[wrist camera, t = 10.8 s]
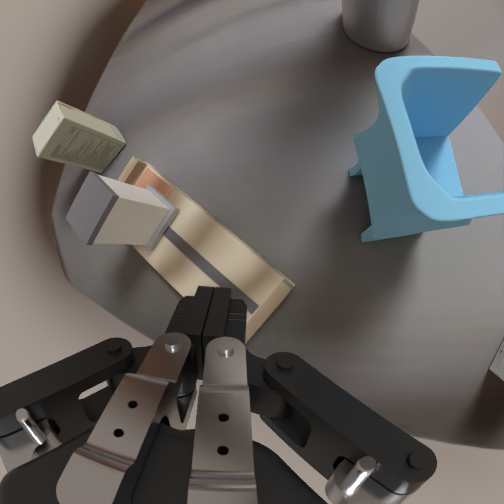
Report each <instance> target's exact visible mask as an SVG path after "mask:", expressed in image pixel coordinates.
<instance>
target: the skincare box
mask: <svg viewBox="0 0 504 504" xmlns="http://www.w3.org/2000/svg"><path fill="white" fill-rule="evenodd" d="M32 138H33V143H34V147H35V150H36V154H37V157H40V158H44V159H49V160H53V161H57V162H61V163H64V164H68V165H72V166H76V167H80V168H84V169H88V170H91V171H95V172H99V173H102V172H103V170H104V169H105V168H106V167H107V166H108V165H109V163H110V162H111V161H112V160H113V159H114V157H115V156H116V155H117V154H118V153H119V152H120V150H121V149H122V148H123V147H124V146H125V144H126V142H125V140H124V138H123V136H122V135H121V133H120V132H119V130H118V129H117V127H115V126H113V125H111V124H109V123H107V122H105V121H103V120H100V119H98V118H96V117H94V116H92V115H89V114H87V113H85V112H83V111H80V110H78V109H76V108H74V107H71V106H69V105H67V104H64V103H62V102H60V101H56V103H55V104H54V106H53V107H52V108H51V109H50V111H49V112H48V114H47V115H46V117H45V118H44V120H43V121H42V123H41V124H40V126H39V127H38V129H37V130H36V132H35V134H34V135H33V137H32Z"/></svg>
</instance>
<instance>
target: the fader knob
mask: <svg viewBox="0 0 504 504" xmlns="http://www.w3.org/2000/svg"><path fill="white" fill-rule="evenodd" d="M179 210H180V209H179V208H178V207H176V206H175V205H174V204H173V203H172V202H171V201H169V200H168V199H167V198H166V197H165V196H164V195H163V194H161V193H160V192H159V191H158V190H157V189H156V188H154V187H153V186H152V185H149V184H148V185H147V186H146V188H145V189H143V188H140V187H137V186H134V185H130V184H127V183H124V182H120V181H117V180H114V179H110V178H107V177H104V176H100V175H98V174H97V173H95V172H92V171H90V172H89V174H88V176H87V177H86V179H85V181H84V183H83V185H82V186H81V188H80V190H79V192H78V194H77V196H76V198H75V200H74V202H73V204H72V206H71V208H70V210H69V212H68V214H67V216H66V219H67V221H68V222H69V223H70V225H71V226H72V227H73V229H74V230H75V231H76V233H77V234H78V235H79V236H80V238H81V239H82V240H83V242H84V243H85V244H86V245H92V244H93V243H95V244H130V245H142V247H143V248H144V249H145V250H146V251H152V250H153V249H154V247H155V245H156V244H157V242H158V241H159V239H160V238H161V236H162V235H163V233H164V232H165V230H166V229H167V227H168V226H169V224H170V223H171V221H172V220H173V218H174V217H175V216H176V214H177V213H178V211H179Z"/></svg>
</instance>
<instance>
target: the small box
mask: <svg viewBox="0 0 504 504" xmlns="http://www.w3.org/2000/svg"><path fill="white" fill-rule="evenodd" d="M489 370H491V371H492V372H493V373H494V374H495V375H497V376H498V377H499V378H500V379H502V380H503V381H504V340H503V342H502V344H501V346H500V348H499V350H498V352H497V354H496V356H495V358H494V360H493V362H492V364H491V366H490V368H489Z"/></svg>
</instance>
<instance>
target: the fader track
mask: <svg viewBox="0 0 504 504" xmlns="http://www.w3.org/2000/svg"><path fill="white" fill-rule="evenodd" d="M117 181H120V182H124V183H127V184H130V185H134V186H137V187H140V188H143V189H145V188H146V186H147V185H148V184H149V185H152V186H153V187H154V188H156V189H157V190H158V191H159V192H160V193H161V194H163V195H164V196H165V197H166V198H167V199H168V200H169V201H171V202H172V203H173V204H174V205H175V206H176V207H178V208H179V209H180V210H179V211H178V213H177V214H176V216H175V217H174V218H173V220H172V221H171V223H170V224H169V226H168V227H167V229H166V230H165V232H164V233H163V235H162V236H161V238H160V239H159V241H158V242H157V244H156V245H155V247H154V249H153V250H152V251H146V250H145V249H144V248H143V247H142V245H132V246H133V247H134V248H135V249H136V250H137V251H138V252H139V253H140V254H141V255H142V256H143V257H144V258H145V259H146V260H147V261H148V262H149V264H150V265H151V266H152V267H153V268H154V269H155V270H156V271H157V272H158V273H159V274H160V275H161V276H162V277H163V278H164V279H166V280H167V281H168V282H169V283H170V284H171V285H172V286H173V287H174V288H175V289H176V290H177V291H178V292H179V293H180V294H181V295H182V296H183V297H185V296H195V293H196V290H197V288H198V286H211V287H227V288H232V299H243V300H244V302H245V304H246V305H247V321H246V340H245V344H246V343H247V342H248V341H249V339H250V338H251V337H252V336H253V335H254V334H255V333H256V331H257V330H258V329H259V328H260V327H261V326H262V325H263V323H264V322H265V321H266V320H267V319H268V318H269V316H270V315H271V314H272V313H273V312H274V310H275V309H276V308H277V307H278V306H279V305H280V303H281V302H282V301H283V300H284V299H285V297H286V296H287V295H288V294H289V293H290V291H291V290H292V289H293V288H294V287H295V284H294V283H293V282H292V281H291V280H289V279H288V278H287V277H286V276H285V275H283V274H282V273H281V272H280V271H278V270H277V269H276V268H275V267H274V266H272V265H271V264H270V263H269V262H268V261H266V260H265V259H264V258H263V257H262V256H260V255H259V254H258V253H257V252H255V251H254V250H253V249H252V248H251V247H249V246H248V245H247V244H246V243H245V242H243V241H242V240H241V239H240V238H239V237H237V236H236V235H235V234H234V233H232V232H231V231H230V230H229V229H228V228H226V227H225V226H224V225H223V224H222V223H220V222H219V221H218V220H217V219H216V218H214V217H213V216H212V215H211V214H209V213H208V212H207V211H206V210H205V209H203V208H202V207H201V206H200V205H199V204H197V203H196V202H195V201H194V200H192V199H191V198H190V197H189V196H188V195H186V194H185V193H184V192H183V191H182V190H180V189H179V188H178V187H177V186H175V185H174V184H173V183H172V182H171V181H169V180H168V179H167V178H166V177H165V176H163V175H162V174H161V173H160V172H158V171H157V170H156V169H155V168H154V167H152V166H151V165H150V164H149V163H147V162H144V161H142V160H140V159H138V158H135V157H132V158H131V160H130V161H129V163H128V164H127V166H126V167H125V169H124V171H123V172H122V174H121V175H120V177H119V179H118V180H117Z"/></svg>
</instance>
